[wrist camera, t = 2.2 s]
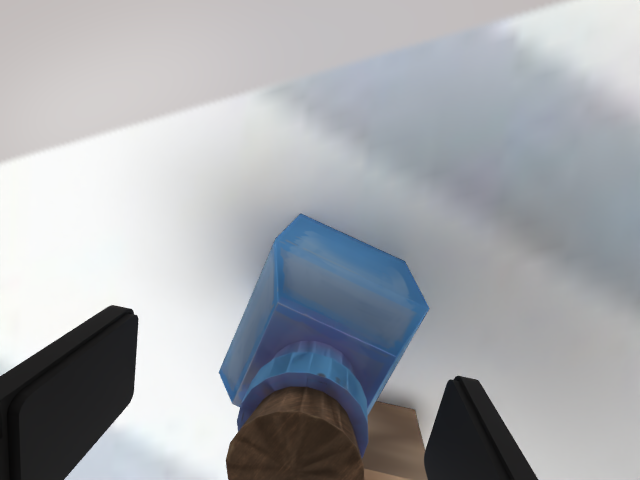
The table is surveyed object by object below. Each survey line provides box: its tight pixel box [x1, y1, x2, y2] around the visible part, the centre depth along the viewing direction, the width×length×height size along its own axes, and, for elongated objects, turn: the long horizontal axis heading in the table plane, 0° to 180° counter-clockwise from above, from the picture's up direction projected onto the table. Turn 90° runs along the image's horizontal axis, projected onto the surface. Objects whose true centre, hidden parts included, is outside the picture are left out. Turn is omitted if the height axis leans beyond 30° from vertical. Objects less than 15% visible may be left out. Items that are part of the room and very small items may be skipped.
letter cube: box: [362, 401, 428, 480], centre depth 19 cm, size 5×5×5 cm
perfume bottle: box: [219, 214, 429, 480], centre depth 14 cm, size 6×6×12 cm
